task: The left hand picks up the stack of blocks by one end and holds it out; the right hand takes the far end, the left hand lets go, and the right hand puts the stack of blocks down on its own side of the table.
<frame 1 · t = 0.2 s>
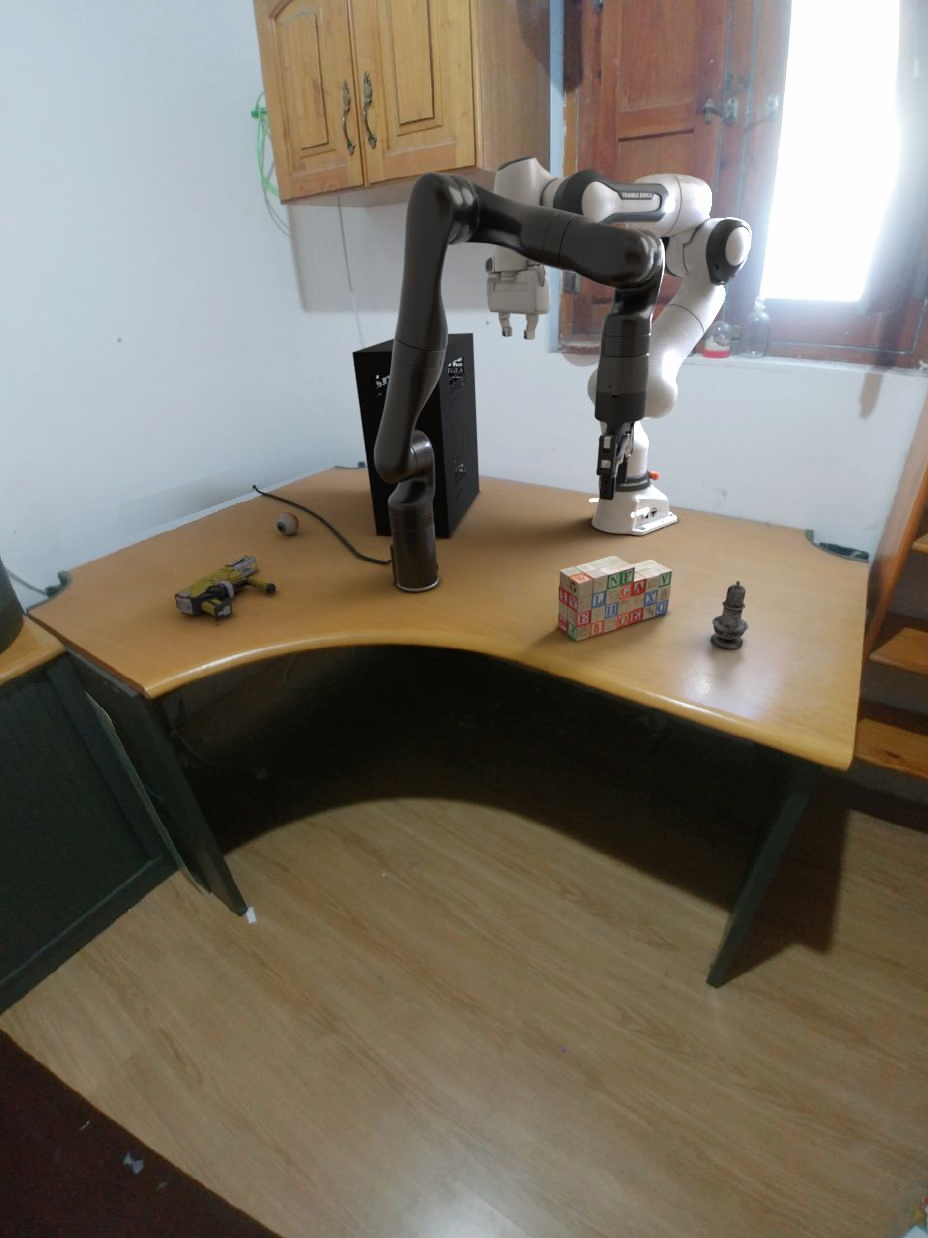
left hand: (613, 490, 99), 28 cm above the table, tool pointing down, fingers open, 8 cm apart
right hand: (517, 337, 125), 47 cm above the table, tool pointing down, fingers open, 8 cm apart
grey chess piece: (726, 641, 108), on the table
toy gun: (240, 596, 134), on the table
stack of blocks: (613, 620, 117), on the table
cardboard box: (431, 512, 175), on the table
eyeball: (289, 534, 165), on the table
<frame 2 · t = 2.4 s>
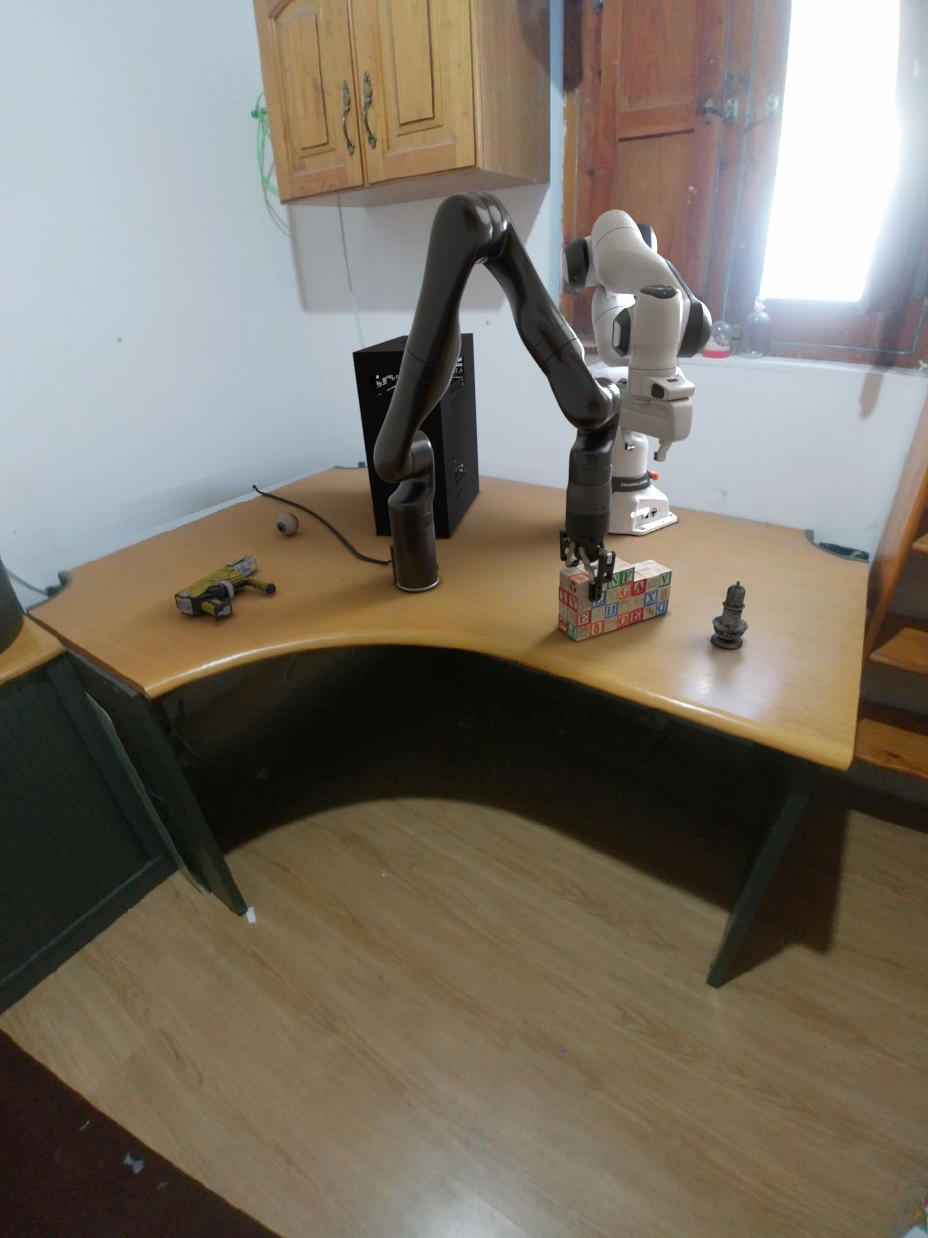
left hand: (583, 592, 110), 8 cm above the table, tool pointing down, fingers closed on stack of blocks, 6 cm apart
right hand: (643, 455, 122), 26 cm above the table, tool pointing down, fingers open, 8 cm apart
stack of blocks: (613, 620, 117), on the table, touching left hand
everything else where it was.
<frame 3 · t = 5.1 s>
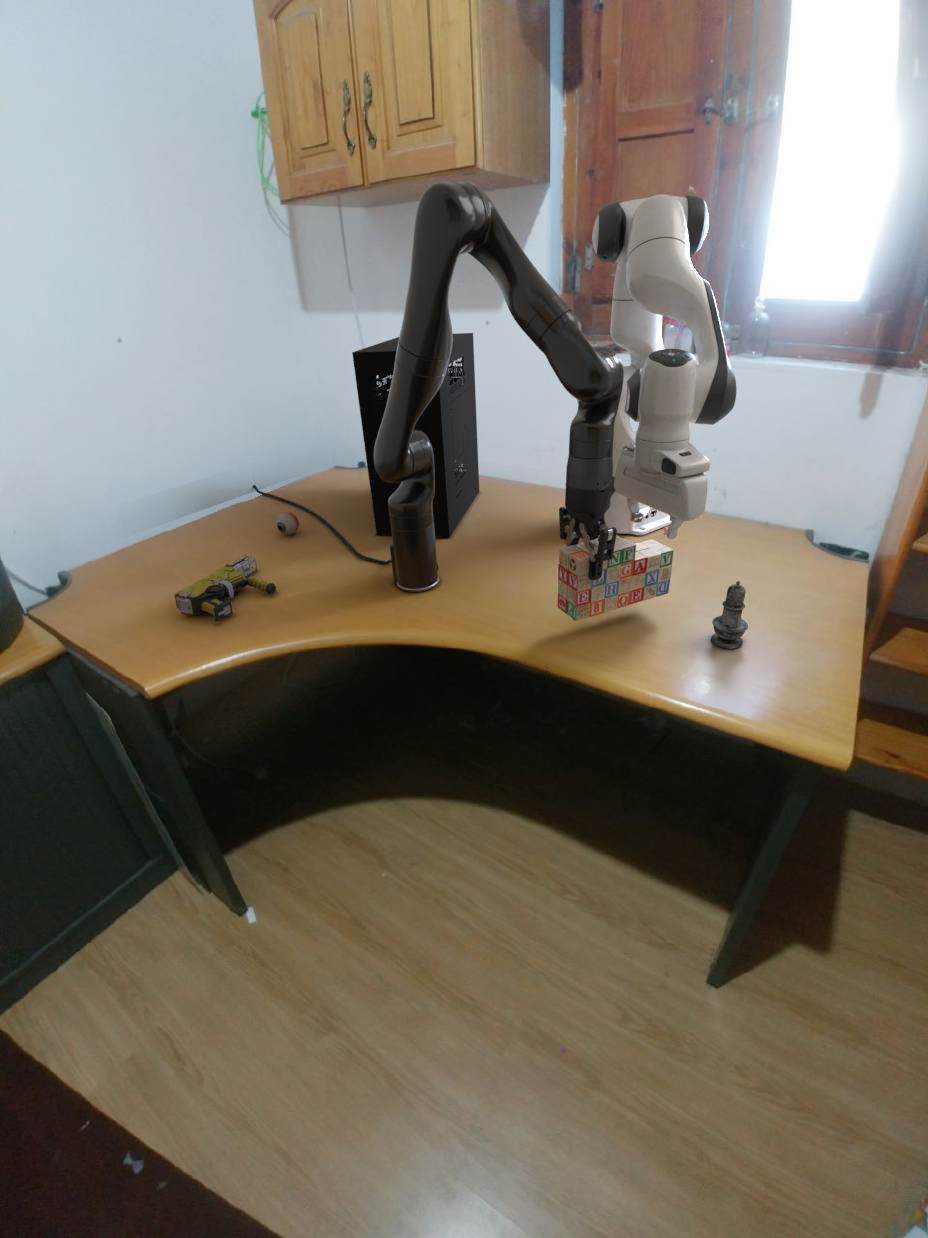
left hand: (583, 571, 108), 12 cm above the table, tool pointing down, fingers closed on stack of blocks, 6 cm apart
right hand: (652, 529, 111), 17 cm above the table, tool pointing down, fingers open, 8 cm apart
stack of blocks: (613, 600, 115), point 4 cm above the table, touching left hand
everything else where it was.
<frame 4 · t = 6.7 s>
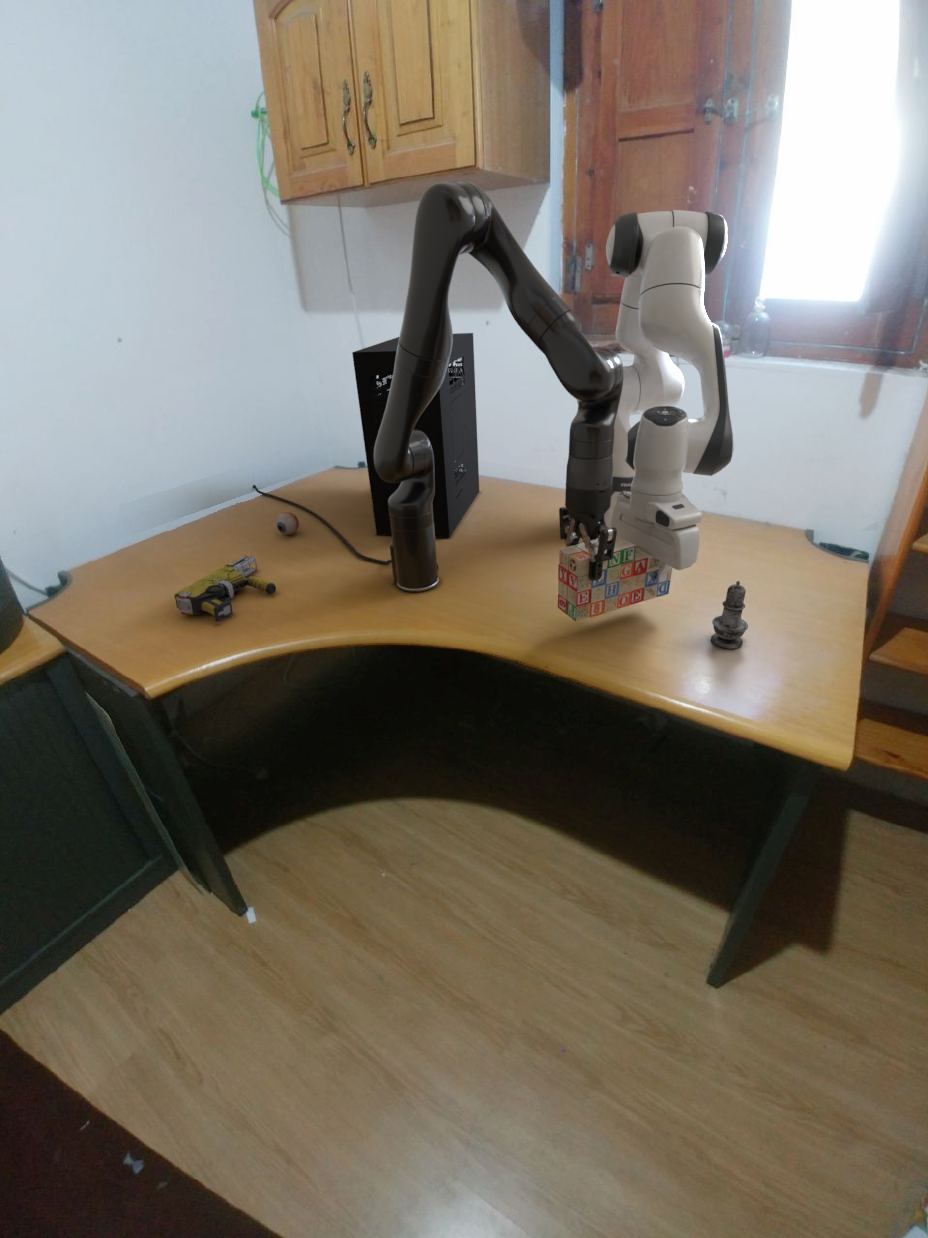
left hand: (583, 571, 108), 12 cm above the table, tool pointing down, fingers closed on stack of blocks, 6 cm apart
right hand: (647, 572, 115), 8 cm above the table, tool pointing down, fingers closed on stack of blocks, 6 cm apart
stack of blocks: (613, 601, 115), point 4 cm above the table, touching right hand, left hand
everything else where it was.
when the left hand's fingers open (12 cm above the table, at t = 7.8 s): stack of blocks stays where it is, held by the right hand.
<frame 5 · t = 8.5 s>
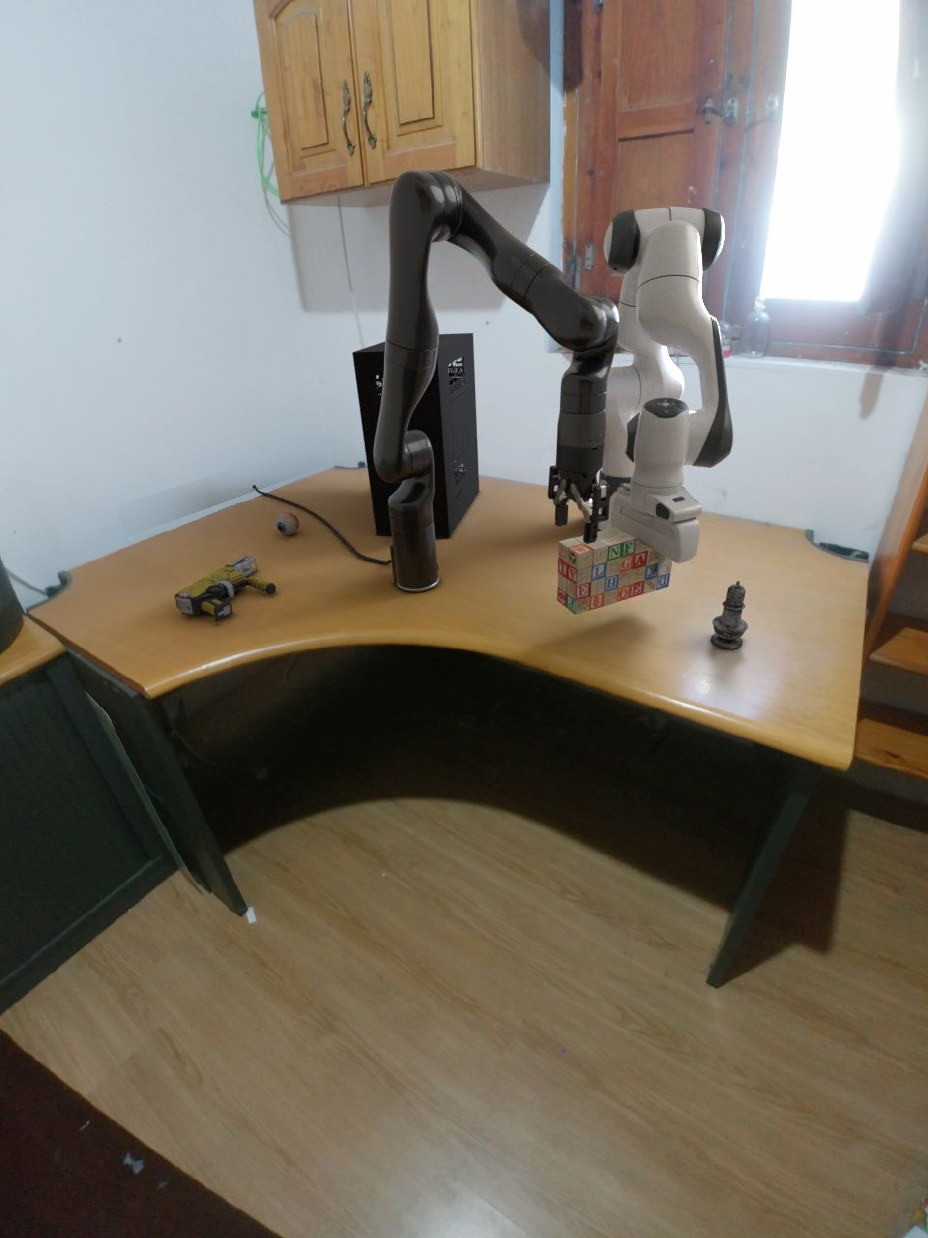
left hand: (574, 533, 104), 20 cm above the table, tool pointing down, fingers open, 8 cm apart
right hand: (647, 565, 115), 10 cm above the table, tool pointing down, fingers closed on stack of blocks, 6 cm apart
stack of blocks: (613, 594, 114), point 6 cm above the table, touching right hand
everything else where it was.
when the right hand's fingers open (5 cm above the table, at t = 16.6 s): stack of blocks stays where it is, on the table.
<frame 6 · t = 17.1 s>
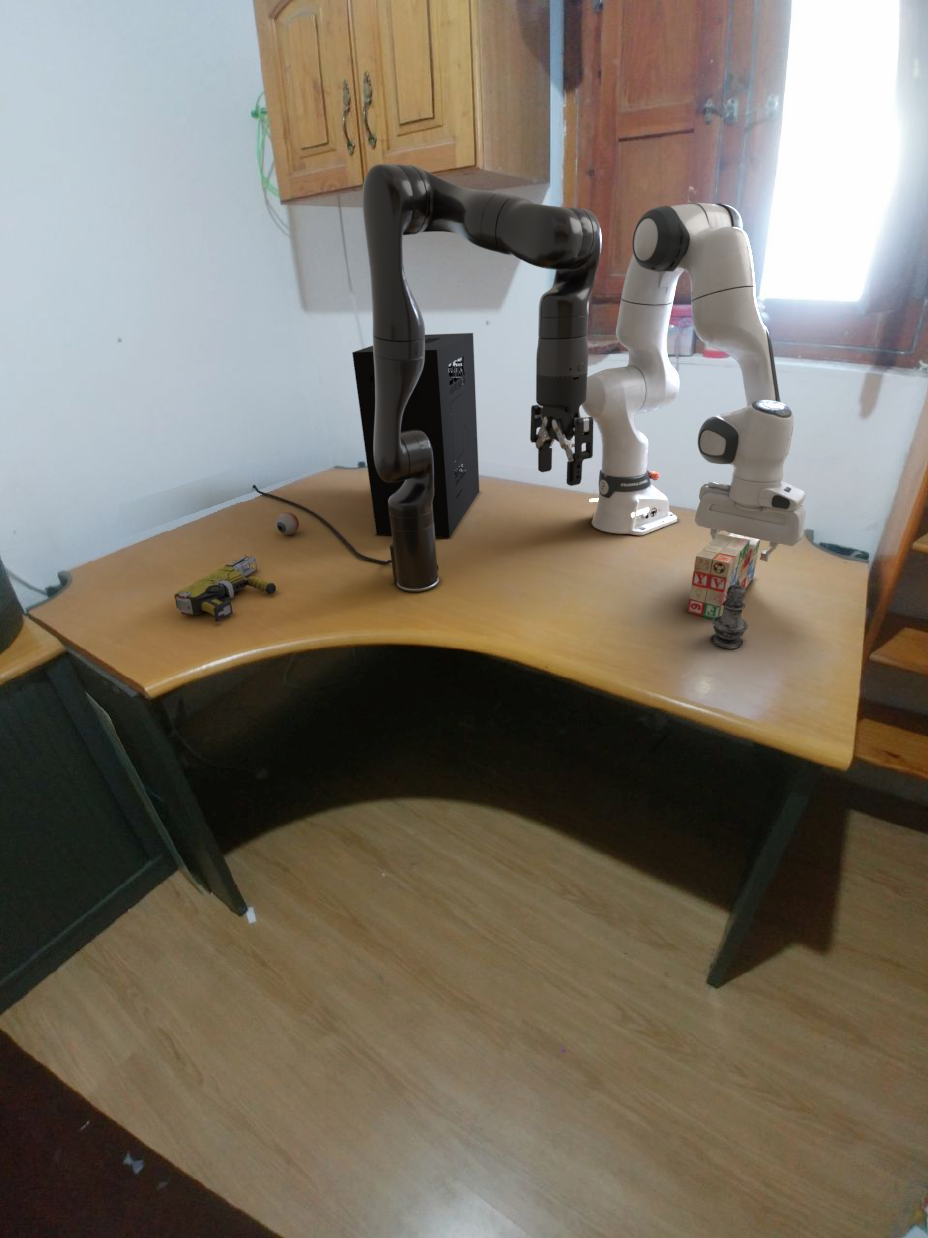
left hand: (558, 477, 97), 30 cm above the table, tool pointing down, fingers open, 8 cm apart
right hand: (740, 554, 125), 6 cm above the table, tool pointing down, fingers open, 8 cm apart
stack of blocks: (721, 594, 123), on the table
everything else where it was.
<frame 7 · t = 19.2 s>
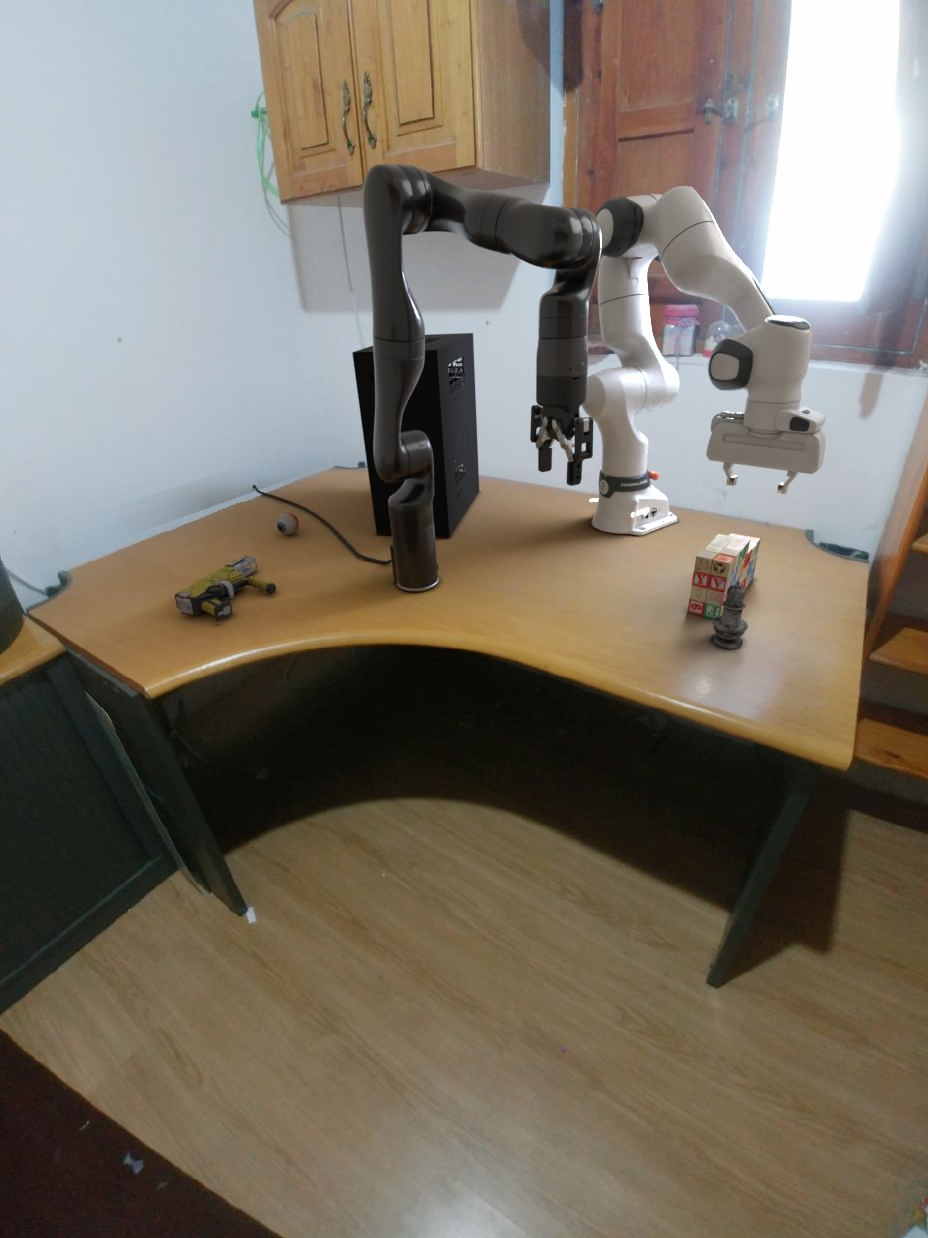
left hand: (558, 477, 97), 30 cm above the table, tool pointing down, fingers open, 8 cm apart
right hand: (755, 488, 117), 21 cm above the table, tool pointing down, fingers open, 8 cm apart
nothing on the table moved.
at the end: stack of blocks inside the target area (7.1 cm from its centre), on the table; the left hand is holding nothing; the right hand is holding nothing; stack of blocks at rest at the end (0.0 cm/s) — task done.
